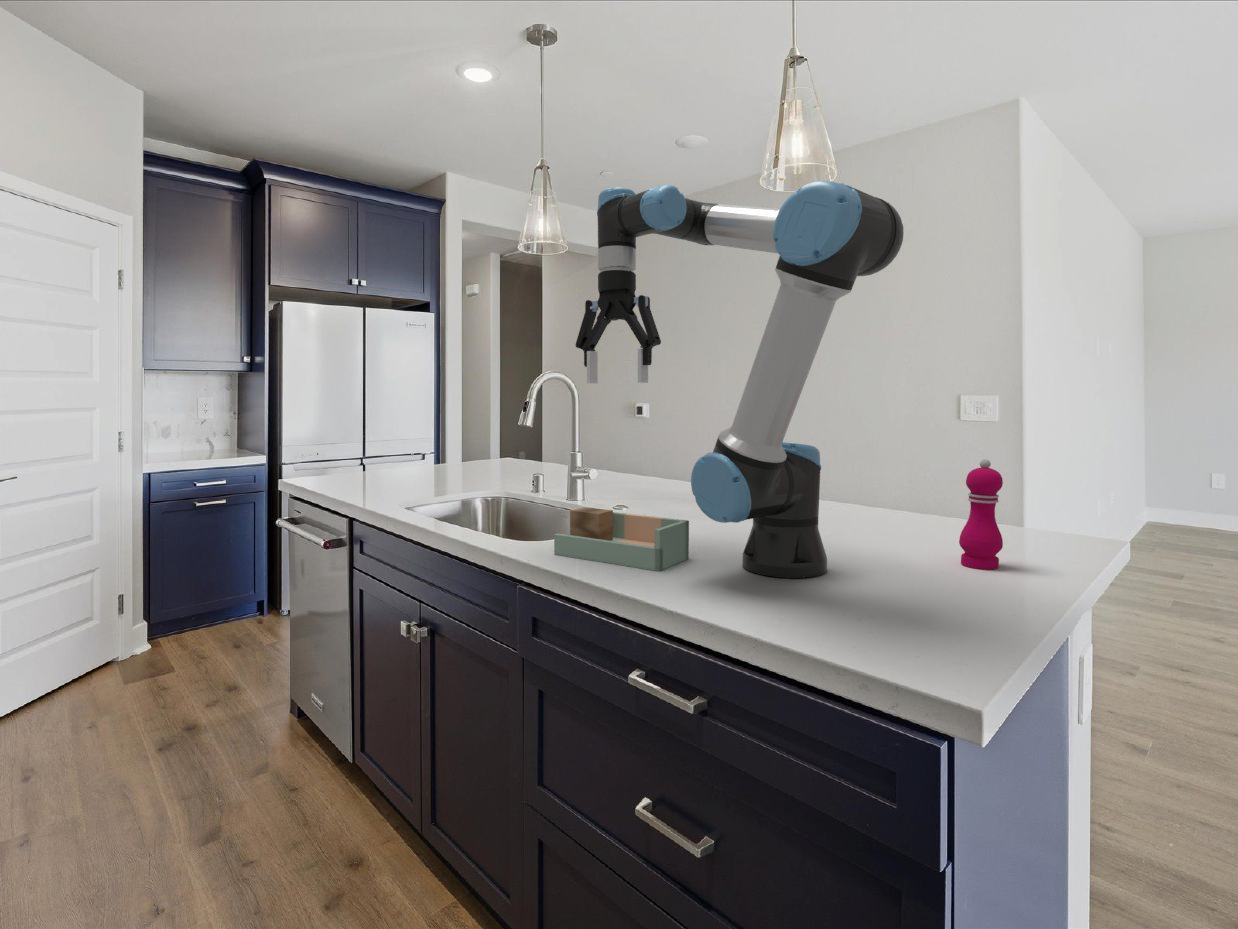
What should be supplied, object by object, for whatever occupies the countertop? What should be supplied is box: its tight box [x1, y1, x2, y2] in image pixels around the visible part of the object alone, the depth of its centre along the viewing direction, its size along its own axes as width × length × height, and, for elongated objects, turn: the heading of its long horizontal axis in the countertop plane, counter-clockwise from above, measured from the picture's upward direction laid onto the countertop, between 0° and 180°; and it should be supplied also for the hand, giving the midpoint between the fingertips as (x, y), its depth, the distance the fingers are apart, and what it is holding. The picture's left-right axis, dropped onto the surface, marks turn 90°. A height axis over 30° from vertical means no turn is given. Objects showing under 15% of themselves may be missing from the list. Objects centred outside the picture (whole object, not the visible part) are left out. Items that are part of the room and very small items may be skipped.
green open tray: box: [553, 511, 690, 572], centre depth 134 cm, size 24×12×8 cm, turn 57°
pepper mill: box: [958, 458, 1004, 571], centre depth 127 cm, size 7×7×20 cm
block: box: [569, 506, 614, 541], centre depth 137 cm, size 7×5×6 cm
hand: (617, 383), depth 137 cm, fingers open, 11 cm apart
